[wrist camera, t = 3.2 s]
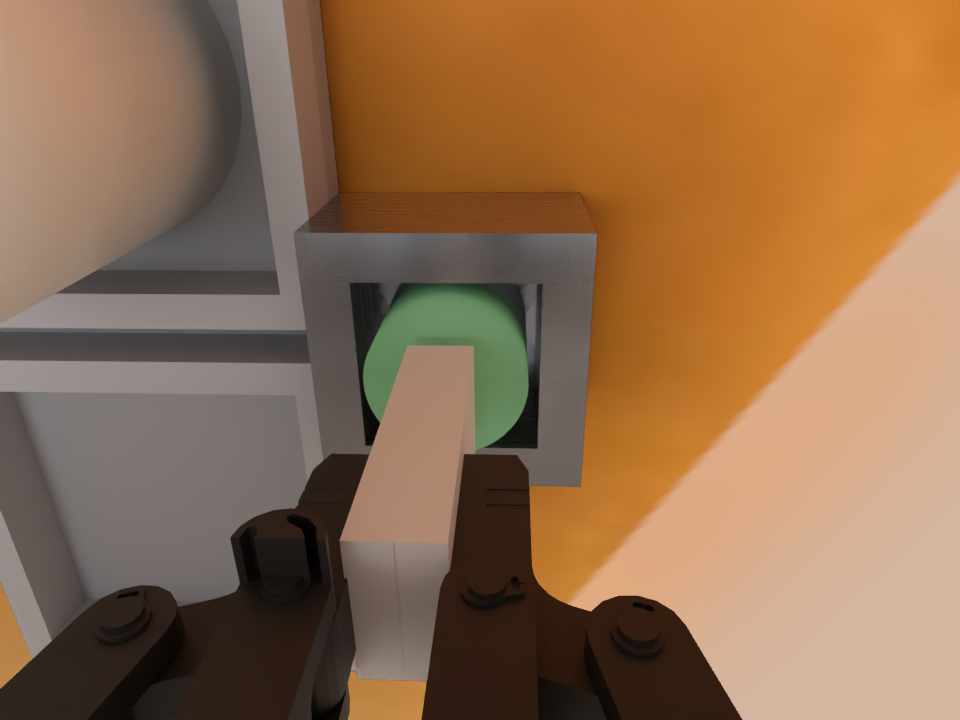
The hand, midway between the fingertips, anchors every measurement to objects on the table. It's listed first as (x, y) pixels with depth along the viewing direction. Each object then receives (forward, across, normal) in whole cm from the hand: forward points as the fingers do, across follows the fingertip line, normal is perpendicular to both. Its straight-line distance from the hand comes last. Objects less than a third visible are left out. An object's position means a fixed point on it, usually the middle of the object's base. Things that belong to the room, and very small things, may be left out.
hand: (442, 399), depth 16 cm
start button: (+5, 0, 0) cm, 5 cm away
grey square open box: (+6, 0, 0) cm, 6 cm away
